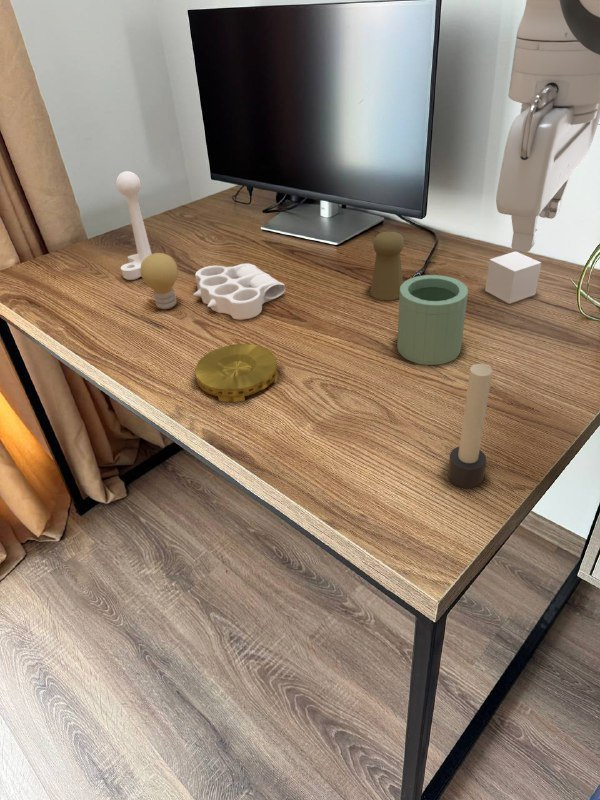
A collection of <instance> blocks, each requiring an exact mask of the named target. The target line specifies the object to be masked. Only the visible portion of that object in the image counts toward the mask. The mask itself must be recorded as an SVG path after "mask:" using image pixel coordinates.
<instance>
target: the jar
mask: <svg viewBox="0 0 600 800" xmlns="http://www.w3.org/2000/svg"><path fill="white" fill-rule="evenodd" d="M468 295H469V289H468V287H467V286H466V284H465V283H464V282H462V281H461V280H459V279H456V278H453V277H450V276H447V275H441V274H426V275H425V274H424V275H418V276H414V277H410V278H408V279H407V280H405V281H403V284H402V285H401V286H400V297H399V298H398V299H399V300H398V301H399V302H398V320H397V321H398V323H397V324H398V325H397V339H396V340H397V342H396V343H397V344H396V349H397V351H398V353H399V354H400V356H401V357H403V358H404V359H405V360H407V361H410V362H412V363H415V364H418V365H423V366H424V365H425V366H437V365H438V366H439V365H443V364H447V363H450V362H452V361H454V360H455V359H456V358H458V357H459V355H460V353H461V350H462V344H463V337H464V327H465V320H466V311H467V303H468Z"/></svg>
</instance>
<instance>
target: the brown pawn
mask: <svg viewBox="0 0 600 800" xmlns="http://www.w3.org/2000/svg"><path fill="white" fill-rule="evenodd" d="M372 245H373V250H374V252H375V260H374V266H373V273H372V279H371V285H370V291H369V292H370V295H371V297H372V298H374V299H376V300H380V301H394V300H397V299H399V297H400V286H401V285H402V284H403V283H404V281H403V270H402V259H401V257H402V256H401V253H402V251H403V249H404V246H405V240H404V237H403V236H402V234H401V233H398V232H396V231H382V232H379V233H378V234H376V235H375V237H374V239H373V244H372Z"/></svg>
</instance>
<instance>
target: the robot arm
mask: <svg viewBox="0 0 600 800" xmlns="http://www.w3.org/2000/svg"><path fill="white" fill-rule="evenodd" d="M513 50H514V51H513V59H512V65H511V66H512V67H511V73H510V80H509V87H508V95H507V96H508V98H509V99H510V100H512V101H513V102H516V103H519V104H521V108H520V113H519V114H518V115H517V116H515V118H514V119H513V121H512V123H511V125H510V128H509V131H508V134H507V138H506V143H505V147H504V151H503V152H504V153H503V157H502V163H501V168H500V173H499V178H498V184H497V190H496V197H495V203H496V204H495V205H496V210H497V212H498V213H499V214H503V215H508V216H511V218H510V219H511V226H512V239H511V249H512V250H513V251H514V252H515V251H516V252H520V253H521V252H522V253H528V252H530V251H531V250H532V248H533V247H534V245H535V244H536V239H537V233H538V228H537V224H538V217H540V218H544V219H551V220H553V219H554V218H555V217H556V216H557V215H558V214H559V213H560V209H561V205H562V201H563V197H564V195H565V192H566V189H567V186H568V184H569V181H570V179H571V176H572V175H573V173H574V172H575V171H576V169H578V167H579V166H580V165H581V164H582V163H583V161H584V160H585V159H586V157H587V155H588V153H589V152H590V151H589V150H590V148H591V146H592V143H593V140H594V138H595V135H596V132H597V128H598V125H599V122H600V0H525V7H524V10H523V14H522V17H521V20H520V22H519V25H518V27H517V31H516V37H515V45H514V49H513Z"/></svg>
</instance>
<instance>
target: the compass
mask: <svg viewBox="0 0 600 800" xmlns="http://www.w3.org/2000/svg"><path fill="white" fill-rule="evenodd" d="M194 369H195V370H194V373H195V377H196V382H197V387H198V388H200V389H201V390H202V391H204V392H205V393H206V394H209V395H211V396H215V397H218V401H219V402H222V403H223V402H225V403H236V402H245V401H246V399H245V397H246V396H252V395H254V394H256V393H259V392H261V391H263V390H265V389H266V388H268V387H269V386H270V385H271V384H272V383H274V384H276V383H277V381H278V377H279V373H278V362H277V357H276V356H275V354H274V353H273V352H272V351H271V350H269V349H268V348H266V347H263V346H261V345H256V344H252V343H251V344H250V343H237V344H228V345H225V346H220V347H218V348H215V349H213V350H211V351H209V352H207V353H206V354H205V355H203V356H202V357H201V358H200V359H199V360H198V362H197V363H196V366H195V368H194Z"/></svg>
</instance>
